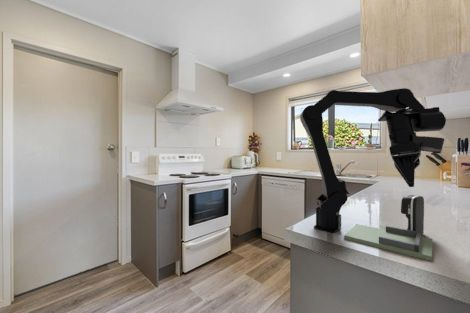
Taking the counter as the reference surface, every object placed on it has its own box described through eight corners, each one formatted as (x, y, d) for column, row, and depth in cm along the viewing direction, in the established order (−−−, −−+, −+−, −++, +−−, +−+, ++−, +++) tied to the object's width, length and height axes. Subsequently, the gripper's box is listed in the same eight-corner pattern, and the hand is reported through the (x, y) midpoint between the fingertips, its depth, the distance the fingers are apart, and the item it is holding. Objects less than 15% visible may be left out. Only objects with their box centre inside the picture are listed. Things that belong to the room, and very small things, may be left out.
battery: (408, 229, 67) (408, 193, 66) (424, 233, 63) (424, 195, 63) (399, 234, 63) (399, 195, 63) (415, 238, 60) (415, 198, 60)
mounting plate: (344, 238, 60) (344, 229, 60) (356, 227, 69) (356, 219, 69) (431, 261, 47) (431, 249, 47) (432, 243, 57) (432, 233, 57)
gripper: (440, 113, 51) (458, 177, 47) (435, 135, 65) (448, 186, 61) (384, 124, 58) (395, 181, 54) (390, 142, 72) (399, 189, 68)
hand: (411, 185), depth 59 cm, fingers open, 9 cm apart
